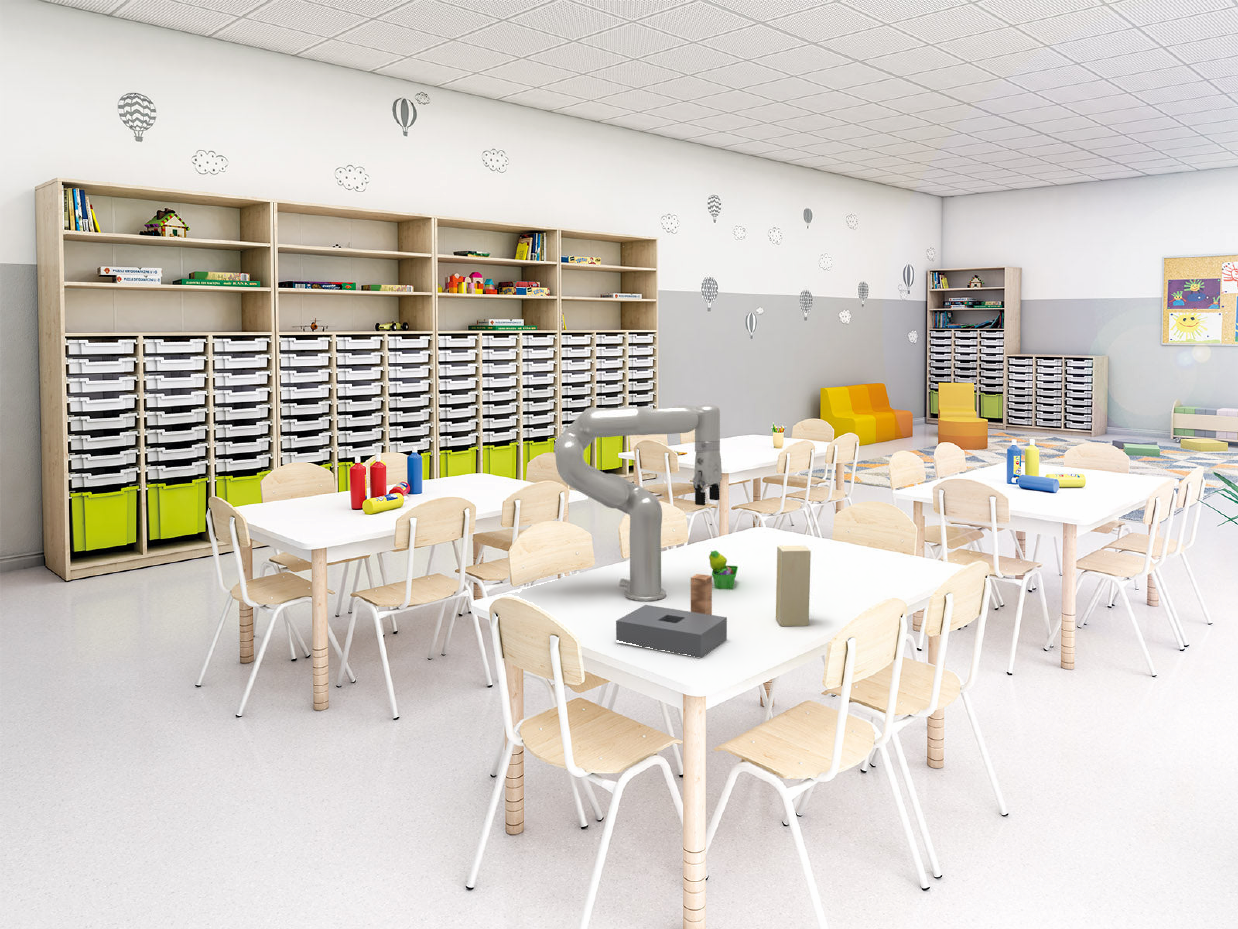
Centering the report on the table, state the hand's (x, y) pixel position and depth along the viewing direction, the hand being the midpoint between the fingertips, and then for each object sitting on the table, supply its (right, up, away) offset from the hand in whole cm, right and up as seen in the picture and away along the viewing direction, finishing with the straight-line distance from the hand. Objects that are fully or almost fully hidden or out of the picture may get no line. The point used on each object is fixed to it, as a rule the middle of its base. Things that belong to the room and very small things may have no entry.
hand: (707, 502), depth 279 cm
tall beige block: (+21, -32, -26) cm, 46 cm away
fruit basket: (+6, -27, +13) cm, 31 cm away
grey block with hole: (-13, -34, -40) cm, 55 cm away
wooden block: (-4, -32, -25) cm, 41 cm away
